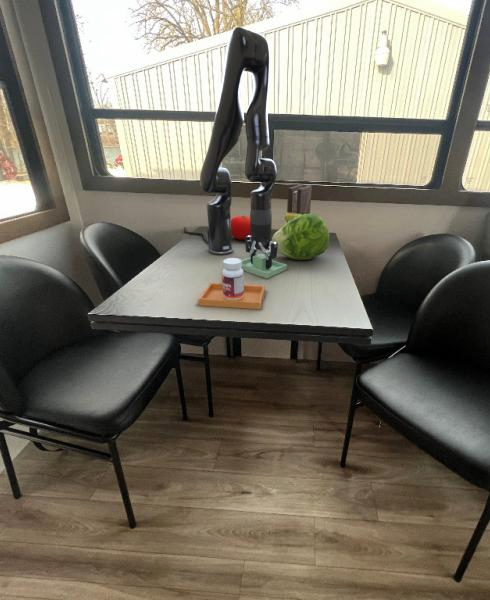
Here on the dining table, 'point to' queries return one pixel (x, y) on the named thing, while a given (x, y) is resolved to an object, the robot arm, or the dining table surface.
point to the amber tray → (216, 298)
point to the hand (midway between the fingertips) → (260, 266)
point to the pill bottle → (233, 279)
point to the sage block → (259, 261)
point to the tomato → (240, 227)
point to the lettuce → (302, 237)
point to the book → (298, 201)
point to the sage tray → (265, 273)
